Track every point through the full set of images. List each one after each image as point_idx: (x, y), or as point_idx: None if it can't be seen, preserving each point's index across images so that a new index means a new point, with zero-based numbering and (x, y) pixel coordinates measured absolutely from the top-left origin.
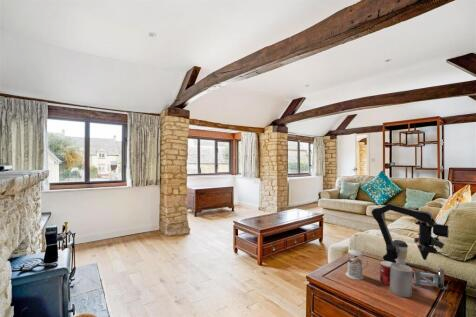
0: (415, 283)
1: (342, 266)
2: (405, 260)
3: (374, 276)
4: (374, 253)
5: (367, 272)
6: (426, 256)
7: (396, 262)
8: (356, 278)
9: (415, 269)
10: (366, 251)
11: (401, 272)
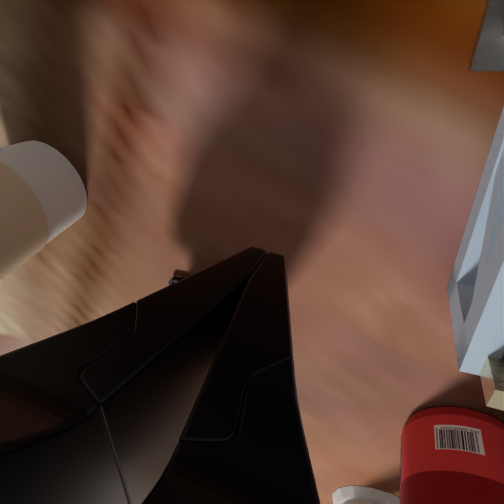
0: None
1: None
2: (24, 163)
3: (367, 447)
4: None
5: (319, 447)
6: (287, 332)
7: (75, 220)
8: None
9: (486, 404)
10: (7, 304)
11: None
